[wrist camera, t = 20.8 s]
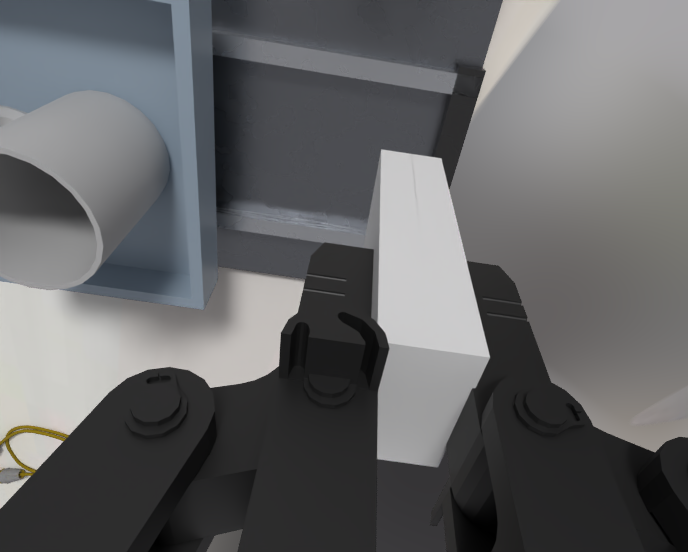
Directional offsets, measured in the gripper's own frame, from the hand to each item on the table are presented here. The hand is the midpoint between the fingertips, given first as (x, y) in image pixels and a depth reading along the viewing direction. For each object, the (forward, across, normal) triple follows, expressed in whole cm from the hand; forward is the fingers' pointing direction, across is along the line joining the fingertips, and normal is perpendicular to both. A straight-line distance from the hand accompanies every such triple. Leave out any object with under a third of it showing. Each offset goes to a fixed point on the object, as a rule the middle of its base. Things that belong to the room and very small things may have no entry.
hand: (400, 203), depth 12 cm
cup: (+15, +17, +6) cm, 23 cm away
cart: (+18, +17, +7) cm, 26 cm away
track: (+20, +10, +7) cm, 23 cm away
